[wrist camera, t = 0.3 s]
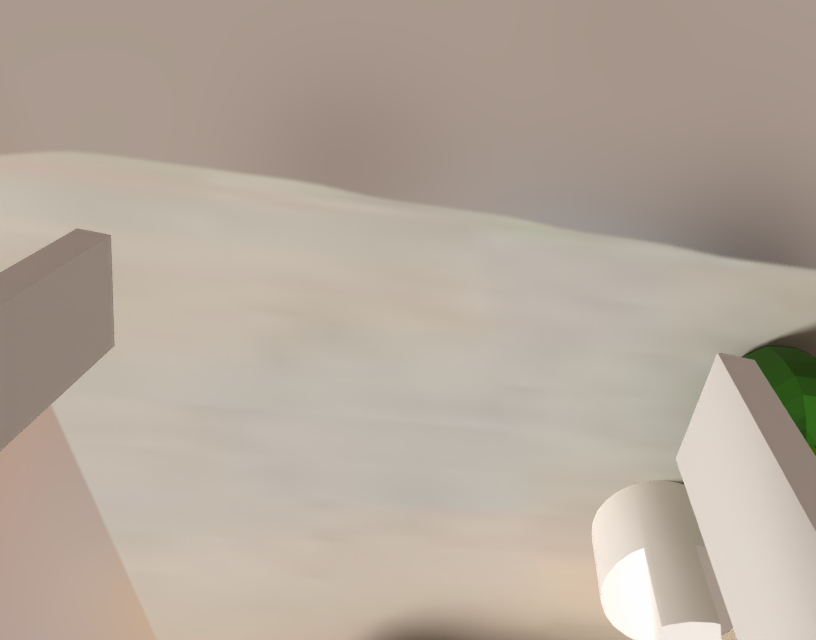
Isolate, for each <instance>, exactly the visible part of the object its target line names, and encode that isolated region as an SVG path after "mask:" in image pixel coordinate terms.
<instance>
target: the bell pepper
mask: <svg viewBox="0 0 816 640" xmlns="http://www.w3.org/2000/svg"><path fill="white" fill-rule="evenodd" d="M742 358H748V359H753V360H755V361H756V363H757V365H758V366H759V368H760V369H761V371H762V372H763V374H764V376H765V377H766V379H767V380H768V382H769V383H770V385H771V387H772V388H773V390H774V391H775V393H776V394H777V396H778V398H779V399H780V401H781V402H782V404H783V406H784V407H785V409H786V410H787V412H788V413H789V415H790V417H791V418H792V420H793V421H794V423H795V424H796V426H797V428H798V429H799V431H800V432H801V434H802V435H803V437H804V439H805V440H806V442H807V443H808V445H809V446H810V448H811V450H812V451H813V453H814V454H815V456H816V358H815V357H813V356H811V355H809V354H807V353H805V352H803V351H801V350H799V349H797V348H787V347H772V346H765V347H763V348H761V349H758V350H756V351H754V352H752V353H749V354H747V355H745V356H742Z"/></svg>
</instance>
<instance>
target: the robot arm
mask: <svg viewBox="0 0 816 640" xmlns="http://www.w3.org/2000/svg"><path fill="white" fill-rule="evenodd" d="M112 347H114V316H113V285H112V254H111V235H108V234H103V233H98V232H93V231H88V230H82V229H75V230H74V231H72V232H70V233H68V234H67V235H65V236H63V237H61V238H60V239H58V240H56V241H54V242H53V243H51V244H49V245H47V246H46V247H44V248H42V249H41V250H39V251H37V252H35V253H34V254H32V255H30V256H28V257H27V258H25V259H23V260H21V261H20V262H18V263H16V264H14V265H13V266H11V267H9V268H8V269H6V270H4V271H2V272H1V273H0V451H1V450H2V449H3V448H4V447H5V446H6V445H8V444H9V443H10V442H11V441H12V440H13V439H14V438H15V437H16V436H17V435H18V434H19V433H20V432H22V431H23V429H25V428H26V427H27V426H28V425H29V424H30V423H31V422H32V421H33V420H34V419H36V418H37V417H38V416H39V415H40V414H41V413H42V412H43V411H44V410H45V409H46V408H48V407H49V406H50V405H51V404H52V403H53V402H54V401H55V400H56V399H57V398H58V397H59V396H61V395H62V394H63V393H64V392H65V391H66V390H67V389H68V388H69V387H70V386H71V385H72V384H73V383H75V382H76V381H77V380H78V379H79V378H80V377H81V376H82V375H83V374H84V373H85V372H86V371H88V370H89V369H90V368H91V367H92V366H93V365H94V364H95V363H96V362H97V361H98V360H99V359H101V358H102V357H103V356H104V355H105V354H106V353H107V352H108V351H109V350H110V349H111V348H112ZM676 461H677V464H678V467H679V470H680V473H681V476H682V479H683V482H684V485H685V488H686V490H687V493H688V496H689V499H690V502H691V505H692V508H693V511H694V514H695V517H696V520H697V523H698V526H699V529H700V532H701V535H702V537H703V540H704V543H705V546H706V549H707V552H708V555H709V558H710V561H711V564H712V567H713V570H714V573H715V576H716V579H717V581H718V584H719V587H720V590H721V593H722V596H723V599H724V602H725V605H726V608H727V611H728V614H729V617H730V620H731V623H732V626H733V628H734V631H735V634H736V637H737V640H816V456H815V454H814V453H813V451H812V450H811V448H810V446H809V445H808V443H807V442H806V440H805V439H804V437H803V435H802V434H801V432H800V431H799V429H798V428H797V426H796V424H795V423H794V421H793V420H792V418H791V417H790V415H789V413H788V412H787V410H786V409H785V407H784V406H783V404H782V402H781V401H780V399H779V398H778V396H777V394H776V393H775V391H774V390H773V388H772V387H771V385H770V383H769V382H768V380H767V379H766V377H765V376H764V374H763V372H762V371H761V369H760V368H759V366H758V365H757V363H756V361H755V360H753V359H748V358H742V357H737V356H732V355H727V354H722V353H717V355H716V358H715V360H714V363H713V365H712V368H711V370H710V373H709V375H708V378H707V381H706V383H705V386H704V388H703V391H702V393H701V396H700V398H699V401H698V404H697V406H696V409H695V411H694V414H693V416H692V419H691V421H690V424H689V426H688V429H687V432H686V434H685V437H684V439H683V442H682V444H681V447H680V449H679V452H678V455H677V457H676Z"/></svg>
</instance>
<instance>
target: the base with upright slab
mask: <svg viewBox="0 0 816 640" xmlns="http://www.w3.org/2000/svg"><path fill="white" fill-rule="evenodd" d="M592 541H593V549H594V556H595V563H596V570H597V577H598V584H599V592H600V599H601V603H602V606H603V609H604V612H605V615H606V616H607V618H608V619H609V620H610V622H611V623H612V624H613V626H614V627H615V628H617V629H618V630H619V631H621V632H622V633H623V634H625V635H626V636H628V637H630V638H632V639H634V640H721V636H722V635H723V634H725V633H727V632H729V631H730V630H731V629H732V628H733V626H732V623H731V620H730V617H729V614H728V611H727V608H726V605H725V602H724V599H723V596H722V593H721V590H720V587H719V584H718V581H717V579H716V576H715V573H714V570H713V567H712V564H711V561H710V558H709V555H708V552H707V549H706V546H705V543H704V540H703V537H702V535H701V532H700V529H699V526H698V523H697V520H696V517H695V514H694V511H693V508H692V505H691V502H690V499H689V496H688V493H687V490H686V488H685V485H684V484H681V483H677V482H672V481H648V482H643V483H638V484H634V485H631V486H629V487H626V488H624V489H622V490H619V491H618V492H616V493H615V494H614V495H612V496H611V497H610V498H608V499H607V500H606V501H605V502H604V503H603V505H602V506H601V507H600V508H599V510H598V511H597V513H596V516H595V518H594V521H593V523H592Z"/></svg>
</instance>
